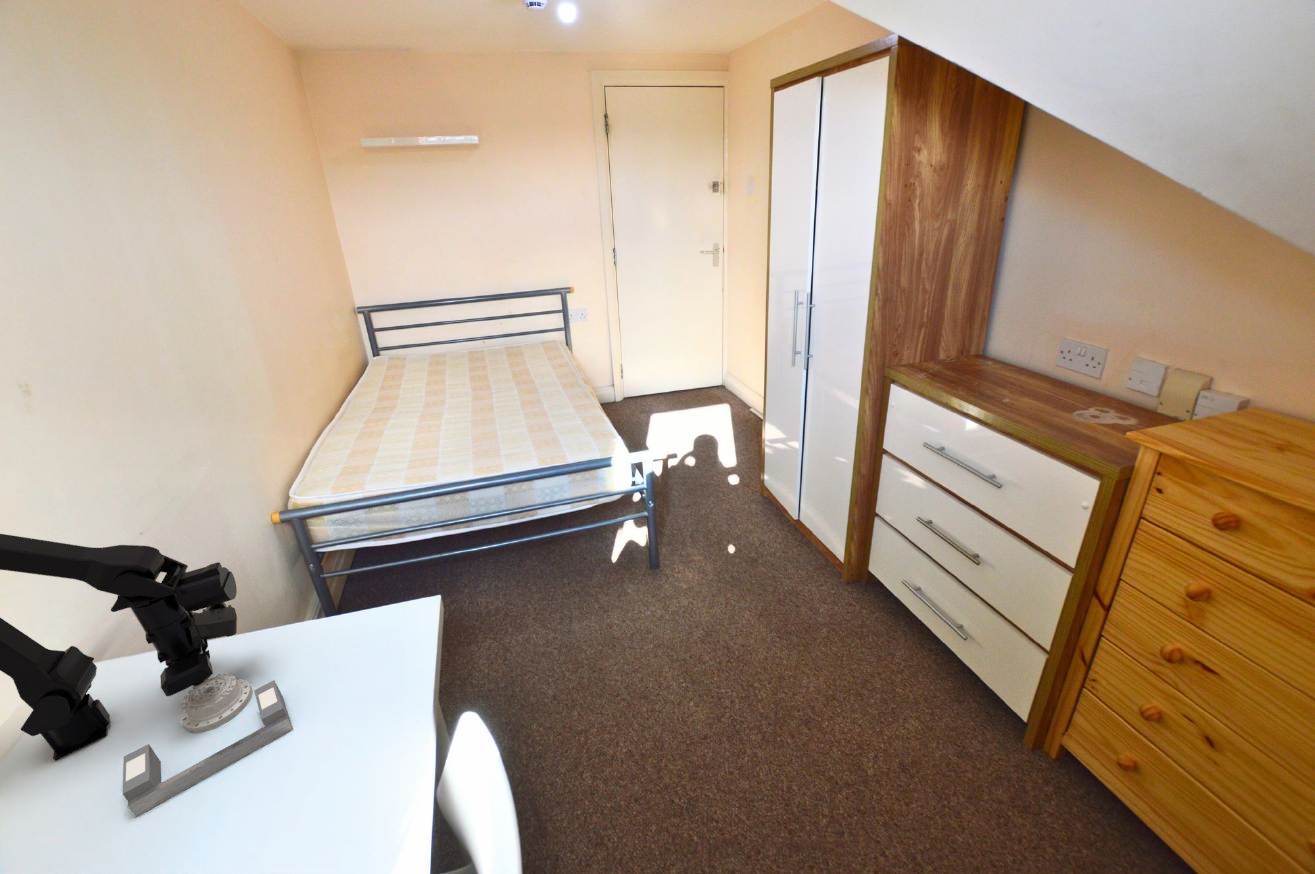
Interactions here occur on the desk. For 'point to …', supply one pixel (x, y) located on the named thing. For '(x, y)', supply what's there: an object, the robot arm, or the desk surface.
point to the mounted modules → (146, 766)
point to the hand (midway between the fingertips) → (204, 686)
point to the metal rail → (208, 766)
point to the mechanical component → (214, 702)
